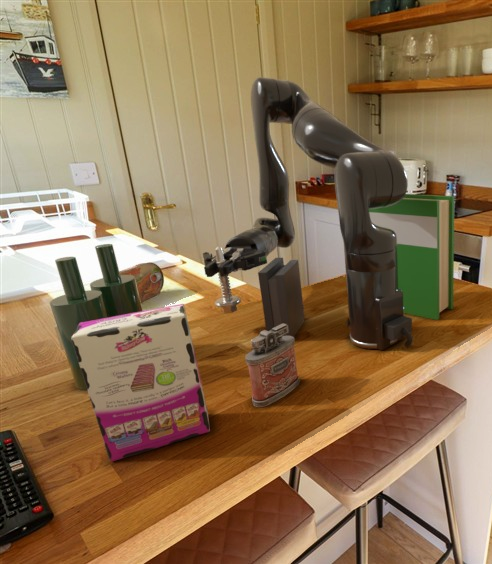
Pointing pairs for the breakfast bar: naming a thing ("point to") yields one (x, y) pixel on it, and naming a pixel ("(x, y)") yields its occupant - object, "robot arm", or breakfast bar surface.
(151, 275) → the tin
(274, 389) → the lighter
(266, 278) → the dark grey grooved block
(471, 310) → the breakfast bar surface
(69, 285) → the wine bottles
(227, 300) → the screw
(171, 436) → the candy bar box
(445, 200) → the hardback book
